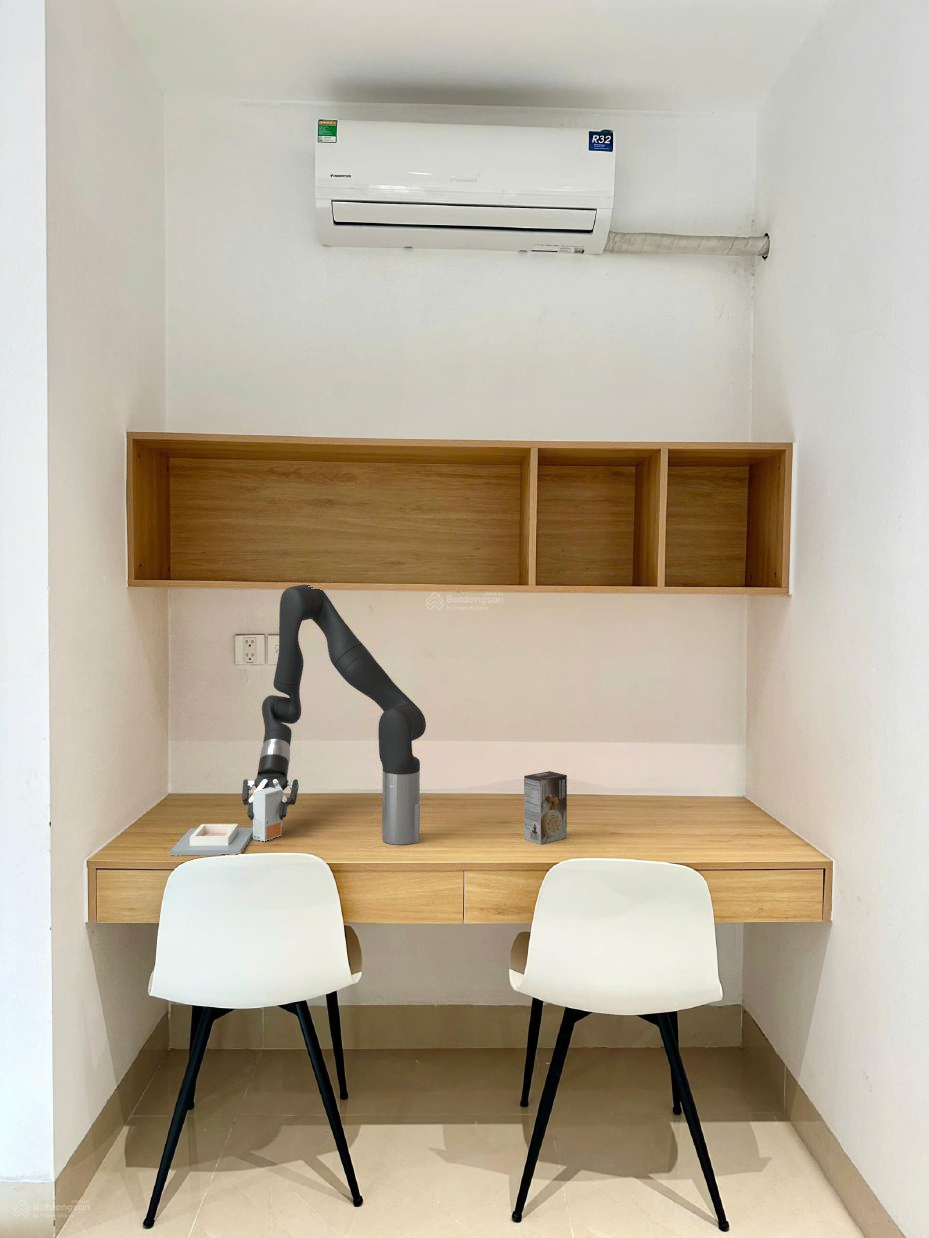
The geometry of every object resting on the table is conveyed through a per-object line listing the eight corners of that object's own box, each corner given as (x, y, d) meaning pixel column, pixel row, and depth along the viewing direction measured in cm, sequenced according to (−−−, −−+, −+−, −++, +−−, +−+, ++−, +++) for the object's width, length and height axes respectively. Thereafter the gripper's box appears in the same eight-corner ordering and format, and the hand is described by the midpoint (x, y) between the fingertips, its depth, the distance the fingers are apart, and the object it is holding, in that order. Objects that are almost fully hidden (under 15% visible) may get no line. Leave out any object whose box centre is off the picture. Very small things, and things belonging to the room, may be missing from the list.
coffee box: (549, 832, 217) (550, 770, 217) (567, 838, 212) (568, 774, 212) (522, 838, 212) (523, 775, 211) (540, 845, 207) (541, 779, 206)
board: (255, 832, 215) (255, 819, 215) (240, 855, 197) (240, 841, 197) (190, 832, 214) (190, 820, 214) (170, 855, 196) (170, 842, 196)
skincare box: (265, 842, 207) (264, 794, 206) (252, 839, 209) (252, 791, 208) (282, 836, 212) (282, 788, 211) (270, 833, 214) (269, 786, 214)
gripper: (244, 752, 217) (234, 810, 205) (301, 752, 217) (294, 810, 206) (248, 768, 222) (238, 826, 211) (303, 768, 223) (297, 825, 212)
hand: (266, 818), depth 209 cm, fingers closed on skincare box, 6 cm apart
